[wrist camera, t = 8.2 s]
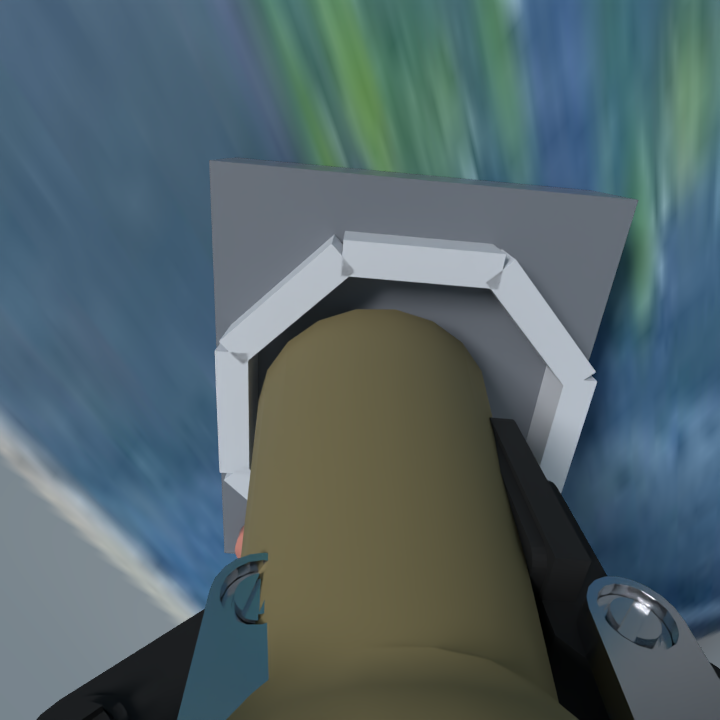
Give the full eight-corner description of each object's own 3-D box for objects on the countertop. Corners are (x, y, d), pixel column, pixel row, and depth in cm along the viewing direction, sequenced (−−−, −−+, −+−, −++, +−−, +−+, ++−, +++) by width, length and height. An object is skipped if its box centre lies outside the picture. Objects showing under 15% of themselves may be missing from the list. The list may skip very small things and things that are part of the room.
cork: (535, 418, 13) (1200, 1452, 3) (371, 540, 14) (401, 1447, 4) (377, 254, 11) (592, 1533, 1) (210, 417, 13) (-352, 1471, 3)
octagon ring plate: (235, 157, 13) (187, 162, 10) (591, 190, 14) (676, 208, 10) (241, 501, 18) (211, 591, 14) (503, 520, 18) (538, 612, 15)
